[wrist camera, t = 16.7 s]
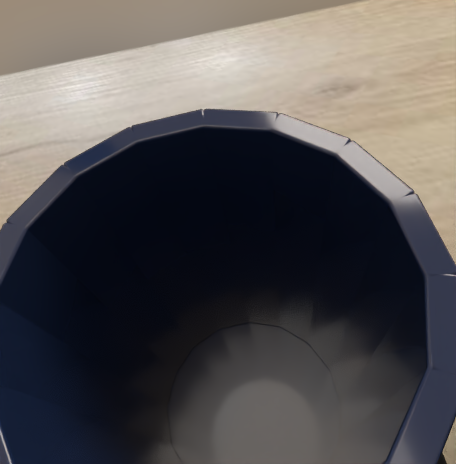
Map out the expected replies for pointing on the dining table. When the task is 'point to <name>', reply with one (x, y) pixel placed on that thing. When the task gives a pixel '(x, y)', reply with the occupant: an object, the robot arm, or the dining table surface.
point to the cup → (225, 303)
